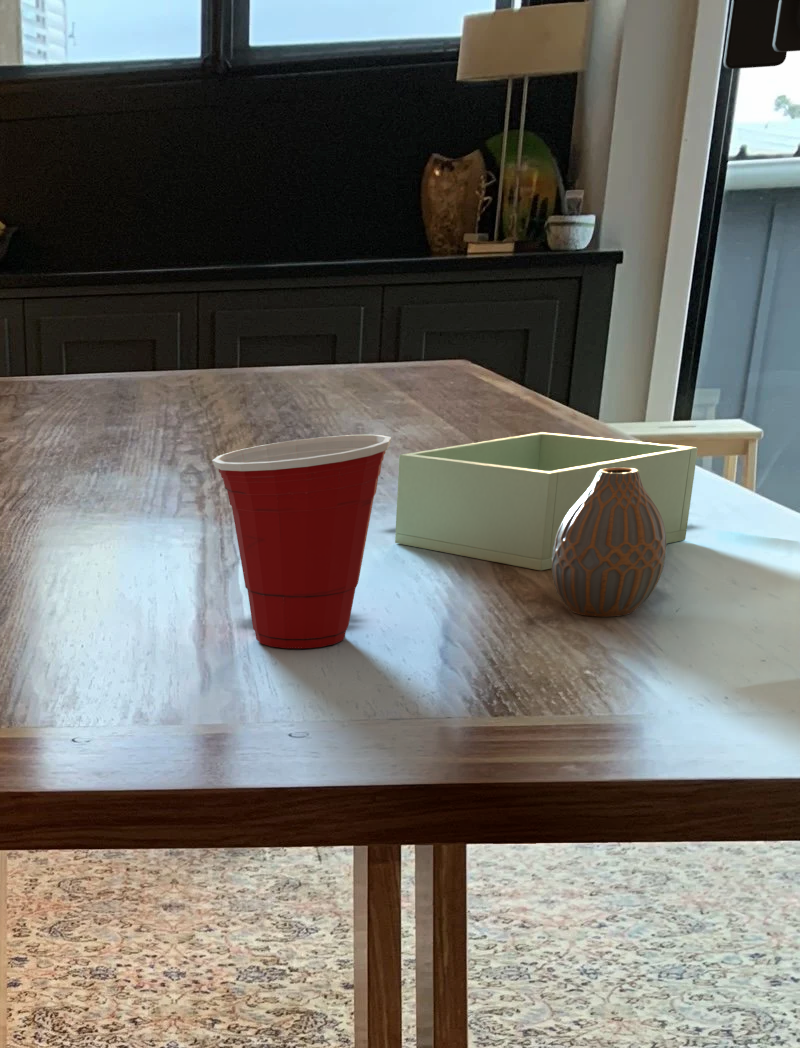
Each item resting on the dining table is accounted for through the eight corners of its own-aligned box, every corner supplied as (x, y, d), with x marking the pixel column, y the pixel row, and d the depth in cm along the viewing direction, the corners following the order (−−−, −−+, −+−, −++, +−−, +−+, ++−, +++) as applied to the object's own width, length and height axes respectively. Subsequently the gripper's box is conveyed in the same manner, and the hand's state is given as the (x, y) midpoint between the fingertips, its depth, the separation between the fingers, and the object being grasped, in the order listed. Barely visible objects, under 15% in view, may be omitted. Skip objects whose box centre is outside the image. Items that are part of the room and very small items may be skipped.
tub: (533, 516, 130) (541, 431, 127) (685, 540, 118) (698, 447, 115) (394, 543, 124) (399, 454, 120) (540, 571, 111) (549, 473, 108)
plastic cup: (247, 614, 105) (248, 429, 99) (402, 623, 100) (413, 429, 95) (187, 653, 97) (184, 454, 91) (353, 665, 92) (361, 455, 86)
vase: (613, 593, 104) (629, 458, 100) (681, 614, 98) (701, 471, 94) (525, 606, 102) (538, 469, 98) (589, 627, 96) (605, 482, 92)
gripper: (1000, -435, 65) (912, 36, 73) (864, -312, 80) (804, 68, 88) (814, -415, 66) (747, 47, 74) (715, -297, 82) (668, 77, 89)
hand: (778, 58), depth 81 cm, fingers open, 9 cm apart
